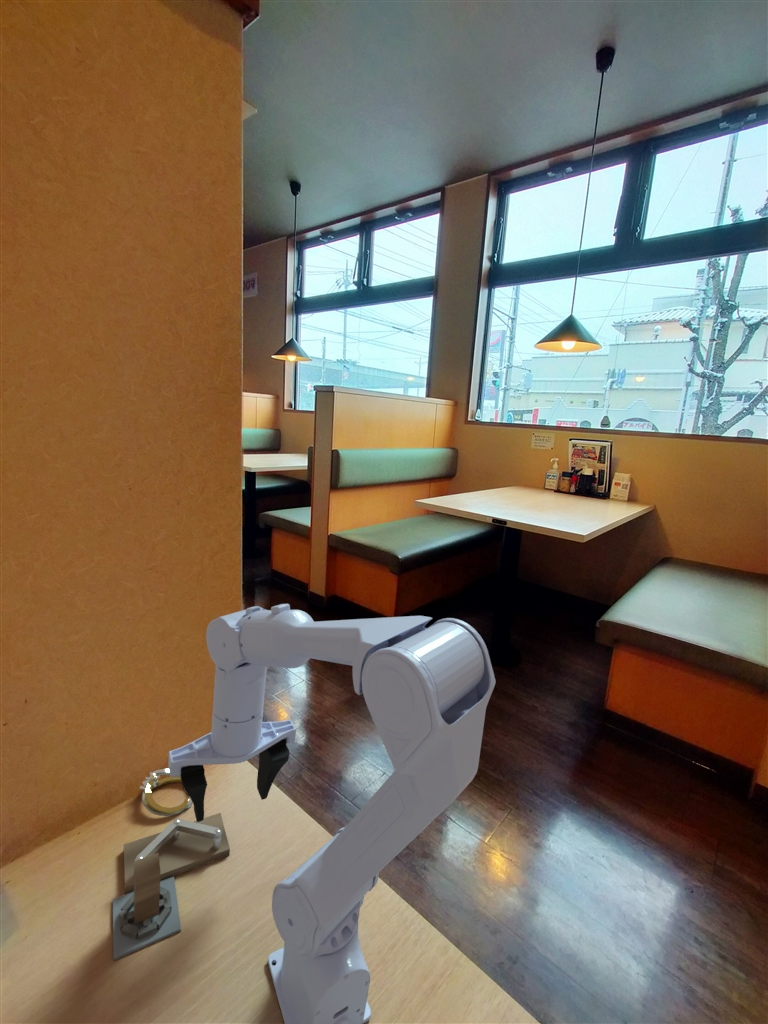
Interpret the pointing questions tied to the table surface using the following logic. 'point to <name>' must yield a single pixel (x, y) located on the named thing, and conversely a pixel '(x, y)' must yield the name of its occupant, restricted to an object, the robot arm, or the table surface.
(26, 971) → the table surface
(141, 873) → the ring wand
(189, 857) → the base
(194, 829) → the bent wire
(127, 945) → the mat
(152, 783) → the ring
